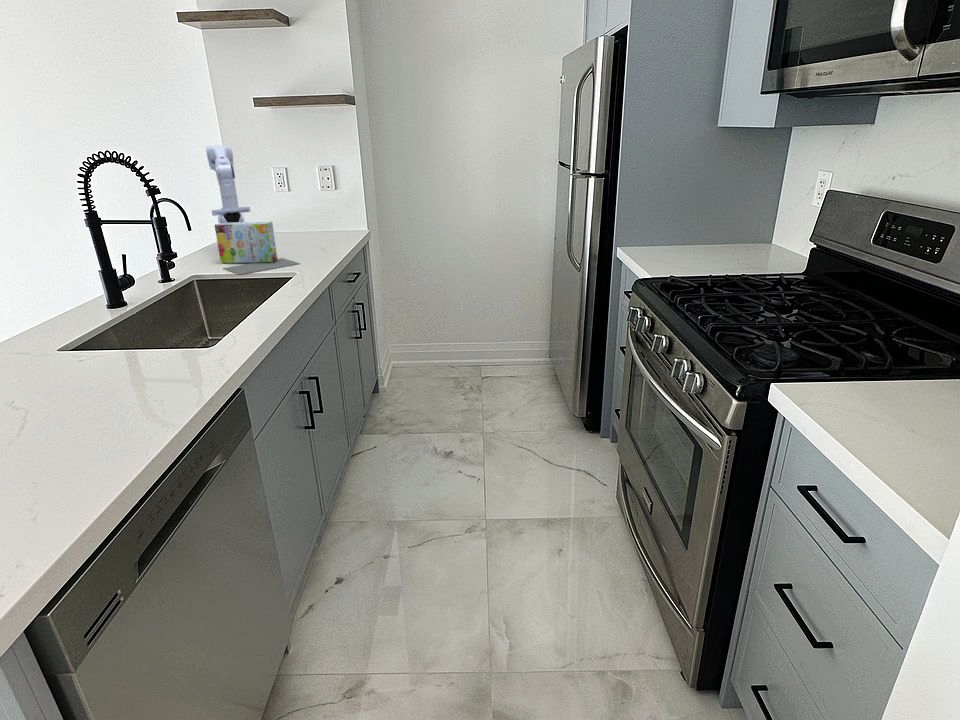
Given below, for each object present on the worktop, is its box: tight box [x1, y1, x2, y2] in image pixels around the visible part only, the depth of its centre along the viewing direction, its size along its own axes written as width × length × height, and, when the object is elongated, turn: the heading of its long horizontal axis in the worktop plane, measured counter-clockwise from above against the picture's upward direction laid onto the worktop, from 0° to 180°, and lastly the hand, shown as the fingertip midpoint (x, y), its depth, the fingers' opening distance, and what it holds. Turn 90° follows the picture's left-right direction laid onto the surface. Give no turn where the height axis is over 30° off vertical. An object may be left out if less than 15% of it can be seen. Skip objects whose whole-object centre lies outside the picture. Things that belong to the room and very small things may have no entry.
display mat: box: [222, 257, 301, 276], centre depth 235 cm, size 14×24×1 cm, turn 134°
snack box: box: [214, 221, 278, 264], centre depth 239 cm, size 21×6×15 cm, turn 84°
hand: (234, 232), depth 245 cm, fingers closed
